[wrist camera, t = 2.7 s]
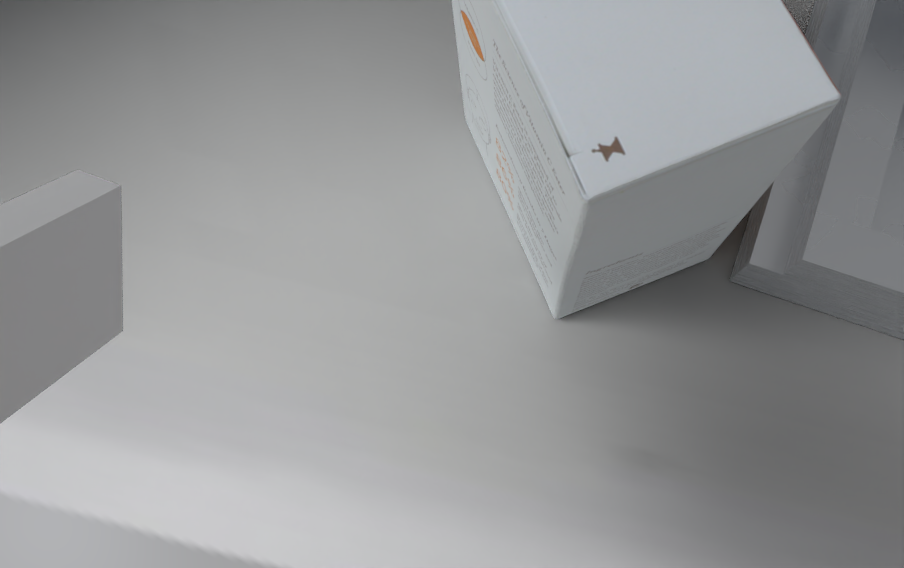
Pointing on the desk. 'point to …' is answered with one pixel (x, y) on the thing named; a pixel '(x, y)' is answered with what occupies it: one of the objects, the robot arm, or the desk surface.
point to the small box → (633, 127)
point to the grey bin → (842, 181)
